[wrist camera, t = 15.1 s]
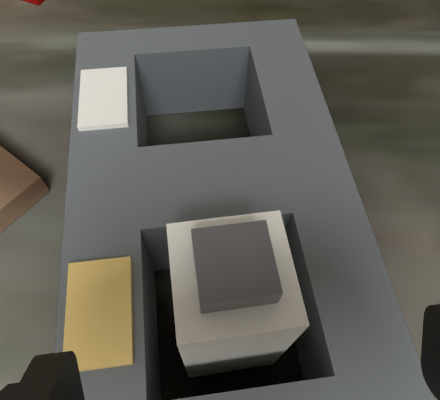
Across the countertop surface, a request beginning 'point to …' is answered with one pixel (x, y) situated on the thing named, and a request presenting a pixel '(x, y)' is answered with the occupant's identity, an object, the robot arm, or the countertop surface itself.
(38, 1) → the baking soda box
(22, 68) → the countertop surface
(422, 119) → the countertop surface
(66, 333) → the socket block
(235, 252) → the plug
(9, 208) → the brown square board
